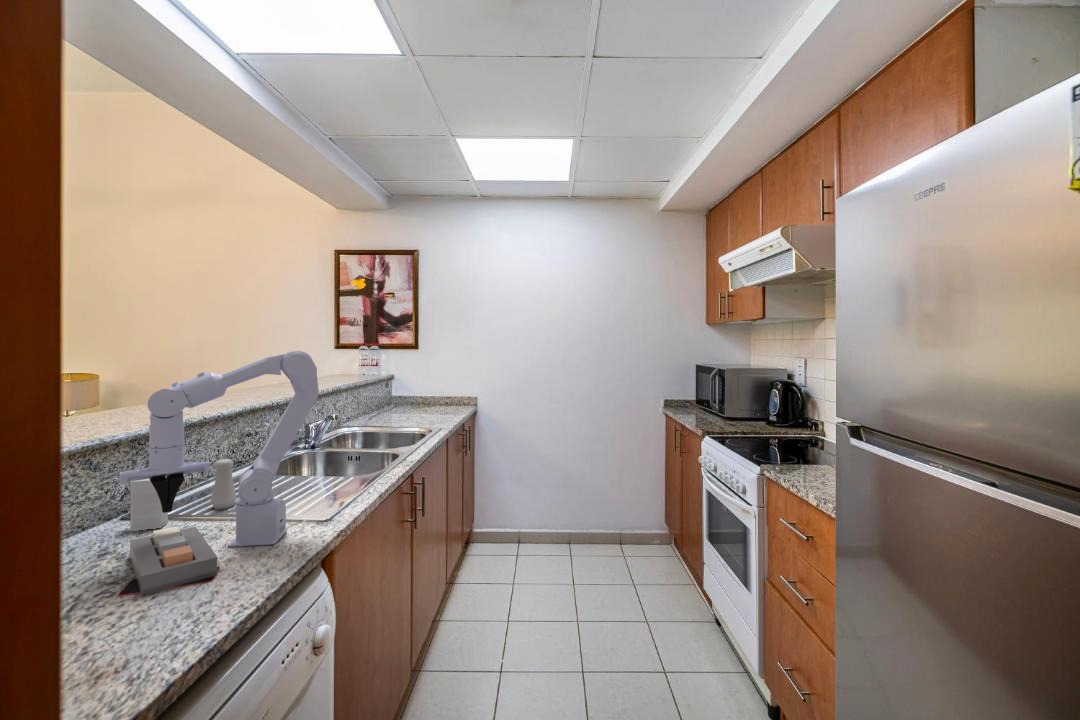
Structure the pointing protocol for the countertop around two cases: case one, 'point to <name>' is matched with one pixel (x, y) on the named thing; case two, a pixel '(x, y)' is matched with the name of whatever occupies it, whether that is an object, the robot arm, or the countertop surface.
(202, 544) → the slotted grey tray
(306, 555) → the countertop surface
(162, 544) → the key slate
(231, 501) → the salt shaker
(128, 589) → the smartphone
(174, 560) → the key terracotta
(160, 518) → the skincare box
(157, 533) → the key cream
